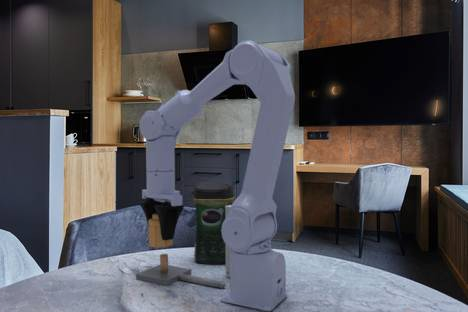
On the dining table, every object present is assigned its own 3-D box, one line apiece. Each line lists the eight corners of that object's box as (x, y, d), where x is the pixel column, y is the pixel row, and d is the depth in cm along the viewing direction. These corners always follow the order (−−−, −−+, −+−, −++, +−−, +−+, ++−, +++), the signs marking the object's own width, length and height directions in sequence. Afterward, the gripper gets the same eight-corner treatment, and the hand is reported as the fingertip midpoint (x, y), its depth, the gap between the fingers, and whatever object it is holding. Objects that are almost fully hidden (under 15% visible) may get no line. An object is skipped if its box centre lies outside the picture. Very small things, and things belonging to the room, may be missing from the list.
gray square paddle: (235, 282, 78) (235, 259, 78) (213, 295, 71) (213, 271, 71) (161, 268, 87) (161, 248, 87) (136, 279, 80) (135, 257, 80)
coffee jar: (237, 255, 97) (236, 180, 96) (232, 265, 89) (232, 183, 89) (198, 254, 98) (197, 180, 98) (190, 264, 90) (190, 183, 90)
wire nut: (177, 243, 82) (177, 213, 82) (161, 248, 78) (159, 217, 78) (161, 240, 85) (160, 211, 84) (144, 245, 81) (143, 215, 81)
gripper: (195, 171, 78) (196, 240, 78) (162, 168, 89) (163, 228, 90) (162, 173, 73) (163, 246, 74) (132, 169, 85) (133, 232, 85)
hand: (161, 236), depth 81 cm, fingers closed on wire nut, 5 cm apart
